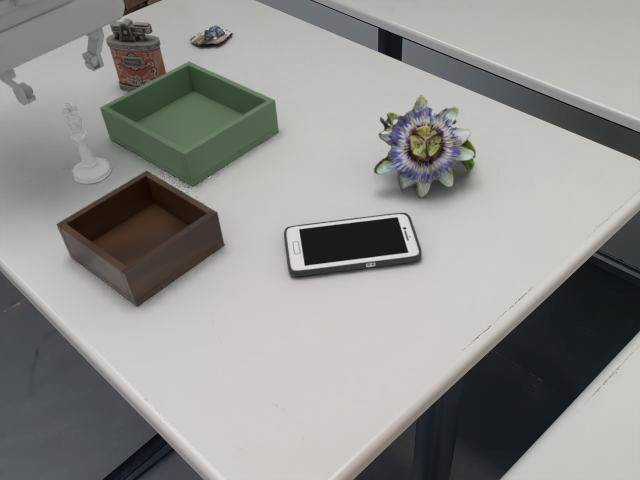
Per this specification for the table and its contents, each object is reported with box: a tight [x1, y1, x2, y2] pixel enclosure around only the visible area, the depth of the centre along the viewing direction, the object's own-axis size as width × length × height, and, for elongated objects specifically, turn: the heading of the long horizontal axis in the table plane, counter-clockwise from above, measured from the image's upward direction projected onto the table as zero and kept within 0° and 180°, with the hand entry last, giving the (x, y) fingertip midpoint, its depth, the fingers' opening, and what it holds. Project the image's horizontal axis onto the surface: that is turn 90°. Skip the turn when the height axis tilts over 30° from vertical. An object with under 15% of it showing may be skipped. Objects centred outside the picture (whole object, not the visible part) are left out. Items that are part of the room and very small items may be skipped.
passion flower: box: [373, 94, 477, 198], centre depth 84 cm, size 11×11×12 cm
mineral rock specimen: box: [189, 25, 230, 46], centre depth 114 cm, size 7×8×2 cm
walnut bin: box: [56, 170, 225, 307], centre depth 78 cm, size 13×13×5 cm
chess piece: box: [61, 101, 112, 185], centre depth 87 cm, size 5×5×10 cm
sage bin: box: [99, 61, 280, 187], centre depth 93 cm, size 18×16×5 cm
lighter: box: [105, 18, 167, 93], centre depth 101 cm, size 8×3×10 cm, turn 76°
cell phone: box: [283, 212, 423, 277], centre depth 77 cm, size 8×15×1 cm, turn 97°
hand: (62, 84), depth 81 cm, fingers open, 8 cm apart
